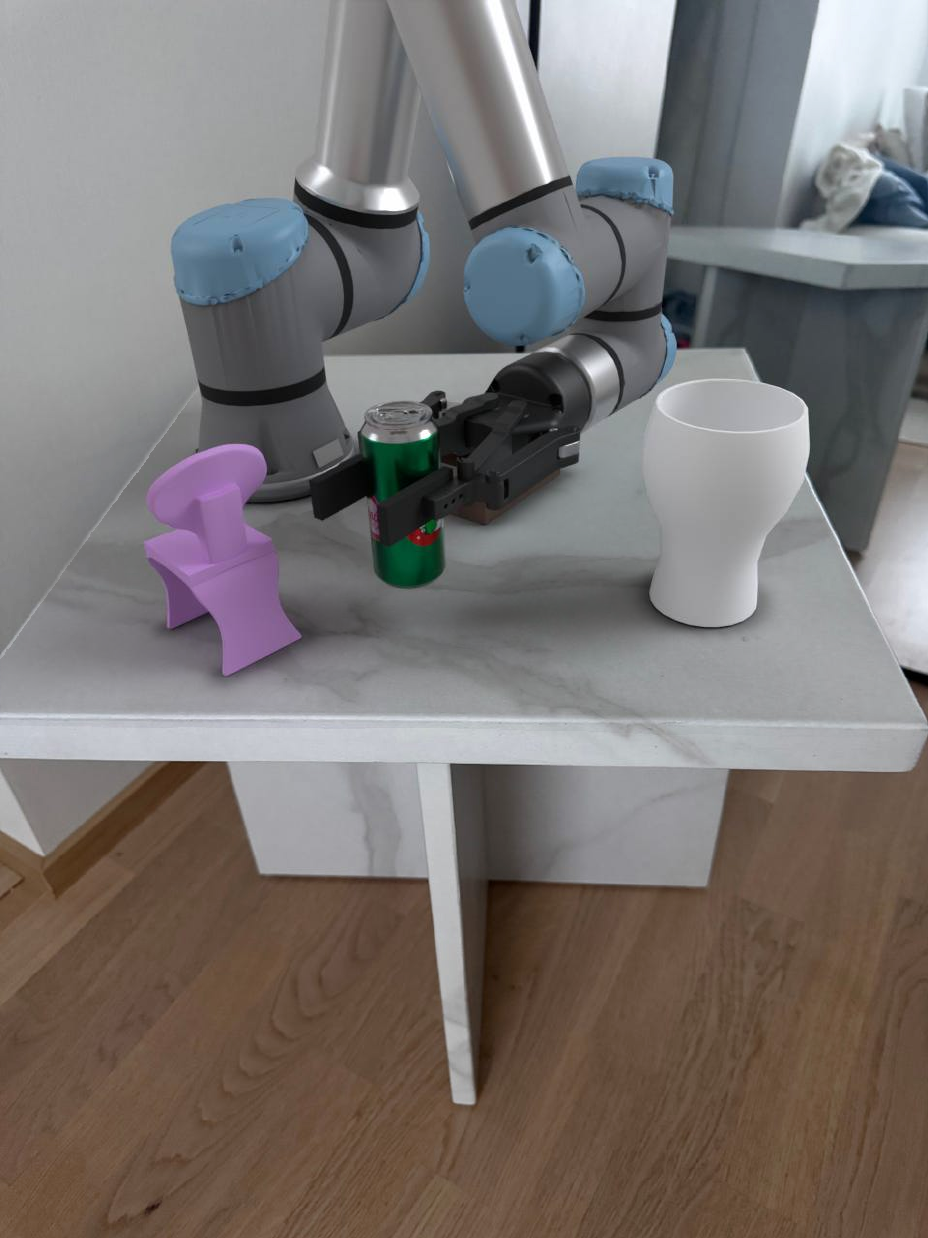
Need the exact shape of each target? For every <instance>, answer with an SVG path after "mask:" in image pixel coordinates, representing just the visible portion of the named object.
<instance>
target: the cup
mask: <svg viewBox="0 0 928 1238" xmlns="http://www.w3.org/2000/svg"><path fill="white" fill-rule="evenodd" d="M810 439H811V438H810V422H809V408H808V405H807V404H806V403H805V401H804V400H803V399H802V398H800V397H799V396H798V395H796V394H795V393H794V392H792V391H789V390H787V389H785V388H782V387H780V386H777V385H772V384H769V383H765V382H761V381H755V380H748V379H736V378H705V379H695V380H689V381H685V382H679V383H677V384H674V385H672V386H669V387H667V388H665V389H664V390H662V391H661V392H660V393H659V394H657V397H656V398H655V401H654V403H653V406H652V409H651V412H650V415H649V418H648V421H647V425H646V427H645V431H644V433H643V436H642V446H641V458H640V467H641V472H642V476H643V482H644V485H645V490H646V495H647V500H648V502H649V504H650V507H651V509H652V512H653V513H654V516H655V517H656V520H657V522H658V524H659V543H660V554H659V556H658V560H657V563H656V566H655V569H654V573H653V576H652V579H651V584H650V587H649V592H648V593H649V599H650V601H651V603H652V604H653V606H654V608H656V610H657V611H659V612H660V613H662V614H663V615H664V616H666V617H668V618H670V619H672V620H673V621H677V622H680V623H683V624H685V625H689V626H694V627H695V626H696V627H703V628H720V627H722V628H723V627H727V626H733V625H736V624H739V623H741V622H744V621H746V620H747V619H748V618H750V617H751V616H752V615H753V614H754V612H755V611H756V609H757V604H758V590H759V582H758V579H759V578H758V575H759V574H758V561H759V559H760V556H761V553H762V550H763V547H764V544H765V541H766V539H767V535H768V534H769V533H770V532H771V531H772V530H773V529H774V528H775V526H777V524H778V523H779V521H781V519H783V517H784V515H785V514H786V513H787V511H788V510H789V508H790V507H791V505H792V504H793V501H794V499H795V498H796V496H797V494H798V492H799V491H800V489H801V487H802V485H803V483H804V481H805V476H806V471H807V467H808V461H809V459H810V458H809V457H810V449H811V440H810Z"/></svg>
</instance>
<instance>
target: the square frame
mask: <svg viewBox="0 0 928 1238" xmlns="http://www.w3.org/2000/svg"><path fill="white" fill-rule="evenodd" d="M470 454H471V453H469V454H466V455H463V456H459V455H457V454H455V453H451V454H448V455H445V456H442V457H441V467H443V466H446V467H449V468H453V478H454V477H455V476H457V457H459V460H460V461H461V458H466V459H467V458H468V457H469V455H470ZM560 475H561V469H558V470H556V471H555V472H554V473H552V474H551V475H549V476H548V477H546V478H545V479H544V480H542V481H541V482H539V483H538V484H536V485H535V486H534V487H532V488H531V489H529V490H528V491H526V492H525V493H524V494H522V495H521V496H519V497H518V498H517V499H515V500H514V501H512V502H511V503H509V504H508V505H507V506H505V507H504V508H502V509H500V510H489V509H487V508H486V503H485V502H477V503H476V504H475V505H473V506H468V507H466V506H461V507H460V508H458V509H457V510H455V511H453V512H452V513H450V515H454V516H457V517H460V518H463V519H466V520H468V521H471V522H475V523H478V524H480V525H484V526H487V525H488V524H490V523H491V522H492V521H494V520H496V519H497V518H498V517H500V516H502V515H503V514H505V512H507V511H509V510H510V509H512V508H513V507H514V506H516V505H517V504H519V503H520V502H522V501H523V500H525V499H526V498H528V497H529V496H531V495H532V494H533V493H535V492H536V491H538V490H539V489H541V488H542V487H544V486H545V485H547V484H548V483H550V482H551V481H553V480H554V479H556V478H557V477H558V476H560Z"/></svg>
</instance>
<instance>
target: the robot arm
mask: <svg viewBox="0 0 928 1238" xmlns="http://www.w3.org/2000/svg"><path fill="white" fill-rule="evenodd" d="M519 13H520V12H519V10H518V7H517V4H516V0H329V8H328V16H327V27H326V36H325V37H326V38H325V46H324V56H323V67H322V77H321V86H320V97H319V105H318V114H317V115H318V117H317V124H316V125H317V126H316V135H315V136H316V137H315V145H314V152H313V154H311V155H310V156H309V157H307V158H306V159H304V160H303V161H302V162H300V163H299V164H298V165H297V166H296V169H295V173H294V175H295V176H294V184H293V185H294V186H293V194H292V195H293V196H292V200H290V199H286V198H278V197H259V198H258V197H257V198H248V199H242V200H240V201H237V202H235V203H224V204H219V205H216V206H212V207H210V208H207V209H205V210H202V211H200V212H197V213H196V214H193V215H192V216H190V217H188V218H187V219H185V220H184V221H183V222H181V223H180V224H179V225H178V226H177V227H176V229H175V230H174V232H173V234H172V237H171V239H170V240H171V241H170V255H171V261H172V266H173V267H172V268H173V273H174V275H173V285H174V289H175V292H176V294H177V296H178V299H179V302H180V303H179V304H180V307H181V311H182V315H183V319H184V324H185V329H186V332H187V336H188V337H187V338H188V341H189V346H190V351H191V356H192V360H193V365H194V369H195V374H196V378H197V382H198V388H199V390H200V391H199V392H200V397H201V413H200V422H199V432H198V448H196V449H195V454H197V453H200V452H203V451H206V450H208V449H211V448H214V447H217V446H221V445H227V444H246V445H250V446H253V447H255V448H257V449H258V450H259V451H260V452H261V453H262V454H263V457H264V459H265V462H266V465H267V473H266V477H265V479H264V481H263V483H262V484H261V485H260V487H259V488H258V489H257V490H256V491H255V492H254V493H253V494H252V495H251V496H250V498H249V499H248V500H247V502H246V503H271V502H282V501H288V500H294V499H298V498H303V497H307V496H310V499H311V506H312V512H313V518H314V519H316V520H319V521H321V522H323V521H325V520H327V519H329V518H331V517H332V516H334V515H336V514H337V513H339V512H341V511H343V510H345V509H347V508H348V507H350V506H352V505H354V504H356V503H357V502H359V501H361V500H362V499H364V498H367V495H366V485H365V476H364V466H363V456H362V447H361V437H360V430H359V431H357V443H358V453H357V454H356V452H355V444H354V439H353V437H352V435H351V433H350V431H349V430H348V428H347V426H346V424H345V421H344V419H343V416H342V414H341V412H340V410H339V408H338V405H337V403H336V401H335V399H334V397H333V395H332V393H331V391H330V388H329V386H328V382H327V381H328V380H327V375H326V368H325V359H324V358H325V357H324V351H323V343H324V342H326V341H328V340H331V339H333V338H335V337H338V336H341V335H343V334H346V333H348V332H350V331H352V330H355V329H357V328H359V327H362V326H364V325H367V324H370V323H372V322H377V321H380V320H382V319H385V318H386V317H388V316H391V315H392V314H393V313H395V312H397V310H399V309H400V308H401V307H403V306H405V305H406V304H407V303H409V302H410V301H411V300H412V299H413V298H414V297H415V296H416V295H417V293H418V292H419V291H420V289H421V287H422V285H423V283H424V281H425V279H426V276H427V273H428V269H429V266H430V265H429V264H430V256H431V254H430V253H431V245H430V244H431V243H430V237H429V232H427V231H425V228H424V226H423V224H425V220H424V217H423V216H422V214H421V212H420V211H419V205H420V199H421V198H420V196H421V195H420V193H419V191H418V189H417V187H416V186H415V184H414V182H413V181H412V180H411V178H410V177H409V167H410V163H411V162H410V161H411V156H412V150H413V145H414V139H415V134H416V128H417V122H418V116H419V112H420V111H419V110H420V106H421V99H422V100H423V104H424V106H425V108H426V111H427V114H428V116H429V119H430V122H431V125H432V128H433V130H434V133H435V135H436V138H437V141H438V143H439V148H440V149H441V153H442V154H443V157H444V158H443V159H444V160H445V163H446V165H447V168H448V172H449V174H450V176H451V178H452V182H453V185H454V188H455V190H456V193H457V196H458V198H459V201H460V204H461V206H462V210H463V212H464V214H465V218H466V220H467V223H468V226H469V229H470V232H471V234H472V237H473V240H474V243H475V247H474V248H473V249H472V251H471V252H470V253H469V255H468V257H467V259H466V262H465V265H464V269H463V291H462V293H463V299H464V302H465V306H466V308H467V310H468V313H469V315H470V316H471V318H472V320H473V321H474V323H475V325H476V326H477V327H478V329H480V330H481V331H482V332H483V333H484V334H485V335H486V336H488V337H489V338H491V339H492V340H494V341H496V342H498V343H501V344H503V345H508V346H511V347H523V346H528V345H529V346H530V345H534V344H536V343H538V342H541V341H542V340H544V339H546V338H549V337H554V336H558V335H559V334H562V333H564V332H565V331H566V330H567V329H568V328H570V331H569V333H568V334H566V335H565V336H564V337H561V338H560V339H558V340H555V341H553V342H551V343H549V344H547V345H545V346H543V347H541V348H538V349H537V350H534V351H532V352H531V353H530V354H527V355H525V356H523V357H521V358H519V359H517V360H516V361H514V362H511V363H510V364H507V365H505V366H504V367H502V368H501V369H500V370H498V372H497V373H496V374H495V376H494V377H493V379H492V380H491V382H490V383H489V385H488V387H487V389H486V390H485V391H484V392H483V393H481V394H476V395H472V396H468V397H466V398H465V399H464V400H463V401H462V402H457V401H448V399H447V396H446V395H447V394H446V392H445V391H444V390H440V389H439V390H434V391H431V392H430V393H429V394H428V395H427V396H426V397H424V399H423V400H421V401H419V403H423V404H425V405H427V406H429V407H430V408H431V409H432V412H433V416H432V417H433V418H434V420H435V421H436V422H437V424H438V425H439V434H440V455H441V457H442V456H445V455H448V454H451V453H455V454H457V455H459V456H463V455H466V454H469V453H471V454H470V455H469V457H468V458H467V459H466V458H461V461H460V460H459V457H457V476H455V477H454V478H453V468H449V467H446V466H443V467H441V468H439V469H437V470H436V471H434V472H432V473H431V474H429V475H427V476H425V477H424V478H422V479H420V480H418V481H417V482H415V483H413V484H412V485H410V486H408V487H406V488H405V489H403V490H401V491H399V492H398V493H396V494H394V495H392V496H391V497H389V498H387V499H386V500H384V501H382V502H380V503H379V504H377V505H376V507H377V517H378V527H379V538H380V544H382V545H385V546H387V547H390V546H392V545H394V544H395V543H397V542H398V541H400V540H401V539H403V538H405V537H406V536H408V535H409V534H411V533H413V532H414V531H416V530H417V529H419V528H420V527H422V526H424V525H425V524H427V523H428V522H430V521H431V520H435V521H436V520H439V519H442V518H443V519H445V518H446V517H447V516H449V515H451V513H452V512H453V511H455V510H457V509H458V508H460V507H461V506H466V507H468V506H473V505H475V504H476V503H477V502H485V503H486V508H487V509H489V510H500V509H502V508H504V507H505V506H507V505H508V504H509V503H511V502H512V501H514V500H515V499H517V498H518V497H519V496H521V495H522V494H524V493H525V492H526V491H528V490H529V489H531V488H532V487H534V486H535V485H536V484H538V483H539V482H541V481H542V480H544V479H545V478H546V477H548V476H549V475H551V474H552V473H554V472H555V471H556V470H558V469H560V470H561V469H564V468H568V467H570V466H573V465H576V464H578V463H579V462H580V449H581V448H580V447H581V435H582V434H584V433H586V432H587V431H589V430H590V429H592V428H593V427H595V426H596V425H598V424H599V423H601V422H603V421H604V420H606V419H608V418H609V417H610V416H612V415H614V414H616V413H617V412H618V411H620V410H622V409H624V408H626V407H627V406H629V405H631V404H632V403H634V402H635V401H637V400H641V399H642V398H643V397H644V396H647V395H648V394H649V393H650V392H651V391H653V390H654V388H655V387H656V386H657V385H658V384H659V383H661V382H662V381H663V380H664V379H665V378H666V377H667V376H668V374H669V373H670V372H671V370H672V368H673V367H674V364H675V361H676V356H677V351H678V350H677V349H678V347H677V346H678V345H677V340H676V336H675V333H674V330H673V328H672V324H671V322H670V321H669V319H668V318H667V317H666V316H665V314H663V307H662V306H663V296H664V287H665V279H666V277H665V276H666V269H667V259H668V251H669V241H670V233H671V225H672V219H673V218H674V214H675V213H674V209H673V202H674V201H673V200H674V198H673V197H674V172H673V169H672V167H671V166H670V165H669V164H668V163H667V162H666V161H664V160H661V159H658V158H654V157H653V158H652V157H643V156H610V157H609V156H608V157H600V158H594V159H591V160H588V161H585V162H584V163H582V164H581V166H580V167H579V170H578V172H577V174H576V180H575V186H574V183H573V180H572V177H571V175H570V172H569V168H568V166H567V165H568V164H567V163H566V159H565V157H564V152H563V149H562V147H561V144H560V139H559V138H558V137H559V136H558V134H557V131H556V128H555V124H554V121H553V118H552V116H551V112H550V109H549V105H548V103H547V99H546V96H545V93H544V90H543V86H542V83H541V80H540V76H539V73H538V71H537V67H536V65H535V64H536V63H535V61H534V58H533V55H532V52H531V49H530V45H529V42H528V39H527V35H526V33H525V29H524V26H523V23H522V19H521V17H520V14H519Z"/></svg>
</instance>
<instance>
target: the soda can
mask: <svg viewBox="0 0 928 1238" xmlns="http://www.w3.org/2000/svg"><path fill="white" fill-rule="evenodd" d="M419 402H420V401H419ZM419 402H418V401H413V400H391V401H385V402H382V403H378V404H375V405H373V406H372V407H369V408H368V409H367V410H365V413H364V416H363V418H364V422H363V423H362V426H361V427H360V430H359V431H360V437H361V447H362V456H363V466H364V476H365V485H366V495H367V496H366V503H367V514H368V524H369V532H370V540H371V543H370V544H371V553H372V560H373V563H372V564H373V571H374V575H376V576H377V578H379V580H381V581H382V582H383V583H385V584H386V585H388V586H390V587H392V588H396V589H400V590H401V589H402V590H413V589H414V590H415V589H420V588H423V587H426V586H429V585H431V584H433V583H434V582H435V581H437V580H438V579H439V577H440V576H441V575H442V574H443V573H444V571H445V569H446V563H447V562H446V545H445V542H446V541H445V521H444V518H442V519H439V520H436V521H435V520H431V521H430V522H428V523H427V524H425V525H424V526H422V527H420V528H419V529H417V530H416V531H414V532H413V533H411V534H409V535H408V536H406V537H405V538H403V539H401V540H400V541H398V542H397V543H395V544H394V545H392V546H390V547H387V546H385V545H382V544H380V538H379V527H378V517H377V507H376V505H377V504H379V503H380V502H382V501H384V500H386V499H387V498H389V497H391V496H392V495H394V494H396V493H398V492H399V491H401V490H403V489H405V488H406V487H408V486H410V485H412V484H413V483H415V482H417V481H418V480H420V479H422V478H424V477H425V476H427V475H429V474H431V473H432V472H434V471H436V470H437V469H439V468H441V455H440V434H439V425H438V424H437V422H436V421H435V420H434V418H433V417H432V416H433V412H432V409H431V408H430V407H429V406H427V405H425V404H423V403H419Z"/></svg>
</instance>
